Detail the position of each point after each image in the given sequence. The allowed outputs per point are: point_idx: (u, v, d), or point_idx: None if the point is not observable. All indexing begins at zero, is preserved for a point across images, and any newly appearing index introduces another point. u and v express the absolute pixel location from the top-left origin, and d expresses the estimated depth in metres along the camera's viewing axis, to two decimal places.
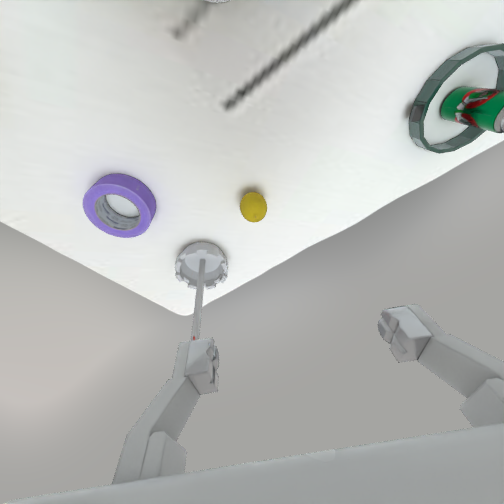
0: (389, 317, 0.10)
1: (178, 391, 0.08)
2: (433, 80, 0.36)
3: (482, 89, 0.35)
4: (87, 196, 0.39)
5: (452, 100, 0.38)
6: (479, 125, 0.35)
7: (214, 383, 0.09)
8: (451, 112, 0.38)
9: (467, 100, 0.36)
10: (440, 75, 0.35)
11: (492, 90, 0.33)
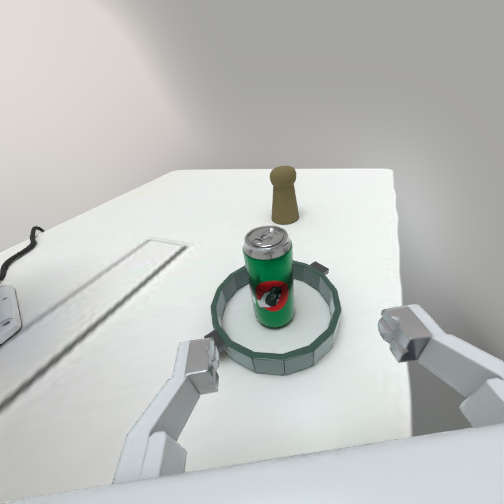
0: (389, 317, 0.10)
1: (178, 391, 0.08)
2: None
3: None
4: None
5: (254, 308, 0.27)
6: (265, 279, 0.22)
7: (214, 383, 0.09)
8: (260, 311, 0.25)
9: None
10: None
11: None
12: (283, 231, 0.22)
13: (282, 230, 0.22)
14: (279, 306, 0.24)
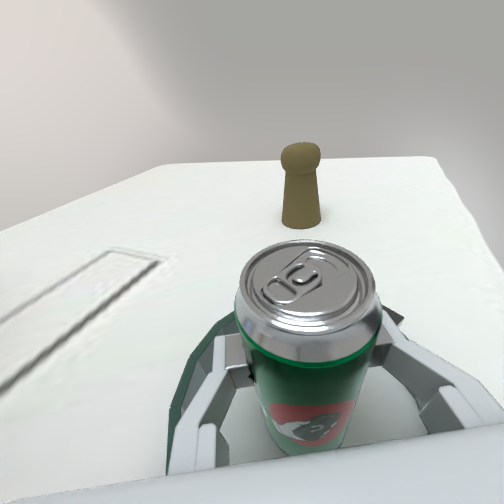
0: None
1: (220, 383, 0.08)
2: None
3: None
4: None
5: None
6: (301, 401, 0.07)
7: (251, 377, 0.09)
8: (278, 436, 0.11)
9: None
10: None
11: None
12: (350, 257, 0.08)
13: (346, 254, 0.08)
14: (327, 439, 0.10)
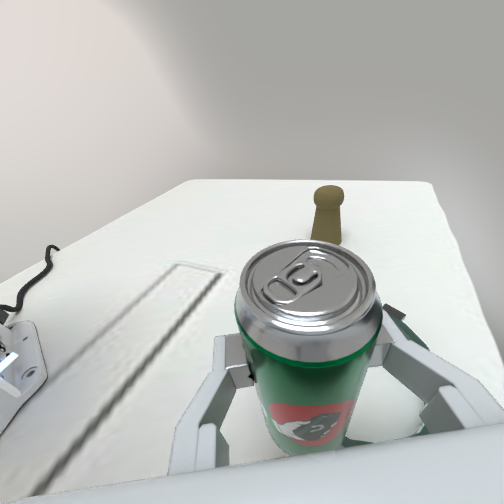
0: None
1: (220, 383, 0.08)
2: None
3: None
4: None
5: None
6: (302, 401, 0.07)
7: (251, 377, 0.09)
8: (279, 436, 0.11)
9: None
10: None
11: None
12: (350, 257, 0.08)
13: (346, 254, 0.08)
14: (327, 438, 0.10)
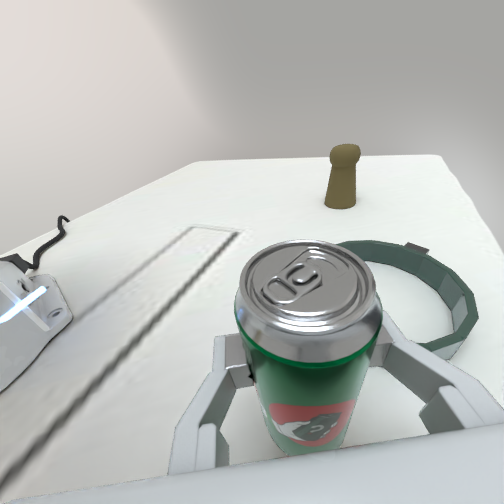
0: None
1: (220, 384, 0.08)
2: None
3: None
4: None
5: None
6: (302, 401, 0.07)
7: (251, 377, 0.09)
8: (278, 436, 0.11)
9: None
10: None
11: None
12: (350, 257, 0.08)
13: (346, 254, 0.08)
14: (327, 439, 0.10)
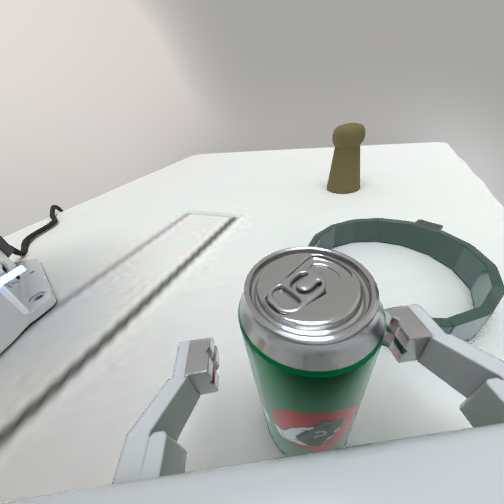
0: (389, 317, 0.10)
1: (178, 390, 0.08)
2: None
3: None
4: None
5: None
6: (305, 408, 0.07)
7: (214, 383, 0.09)
8: (281, 440, 0.11)
9: None
10: None
11: None
12: (353, 265, 0.08)
13: (349, 262, 0.08)
14: (330, 443, 0.10)
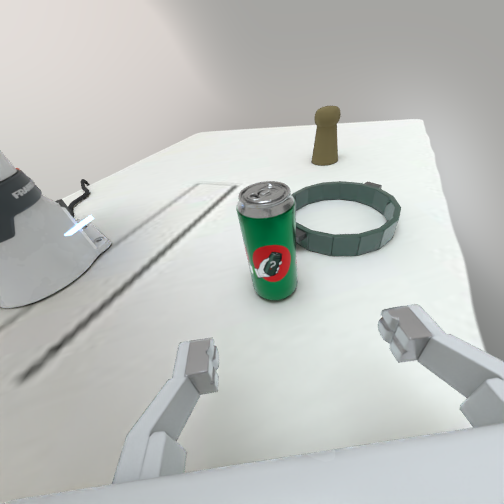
0: (389, 317, 0.10)
1: (178, 391, 0.08)
2: None
3: None
4: None
5: (252, 279, 0.24)
6: (263, 243, 0.19)
7: (214, 383, 0.09)
8: (259, 282, 0.23)
9: None
10: None
11: None
12: (284, 186, 0.19)
13: (283, 185, 0.19)
14: (280, 276, 0.21)
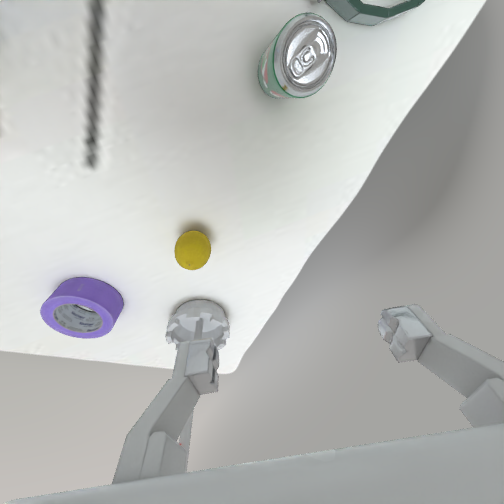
0: (389, 317, 0.10)
1: (178, 390, 0.08)
2: None
3: None
4: (44, 317, 0.39)
5: (260, 78, 0.25)
6: (289, 97, 0.21)
7: (214, 383, 0.09)
8: (269, 93, 0.25)
9: (262, 72, 0.22)
10: None
11: (272, 41, 0.20)
12: (333, 42, 0.16)
13: (332, 39, 0.16)
14: None
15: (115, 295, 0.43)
